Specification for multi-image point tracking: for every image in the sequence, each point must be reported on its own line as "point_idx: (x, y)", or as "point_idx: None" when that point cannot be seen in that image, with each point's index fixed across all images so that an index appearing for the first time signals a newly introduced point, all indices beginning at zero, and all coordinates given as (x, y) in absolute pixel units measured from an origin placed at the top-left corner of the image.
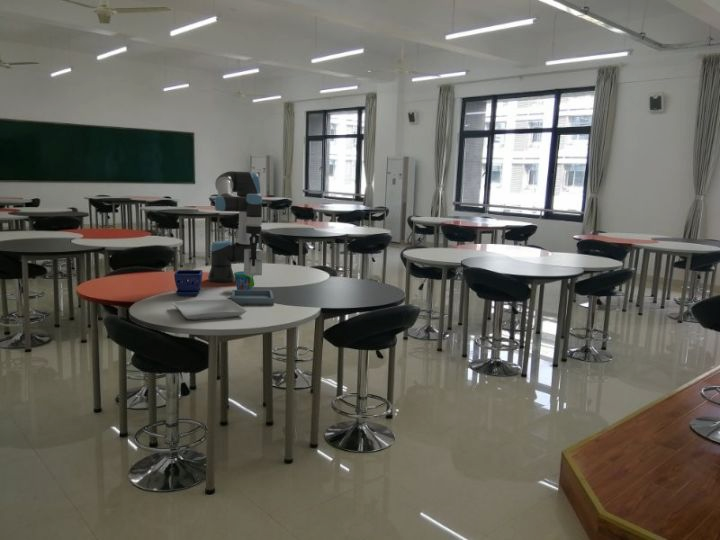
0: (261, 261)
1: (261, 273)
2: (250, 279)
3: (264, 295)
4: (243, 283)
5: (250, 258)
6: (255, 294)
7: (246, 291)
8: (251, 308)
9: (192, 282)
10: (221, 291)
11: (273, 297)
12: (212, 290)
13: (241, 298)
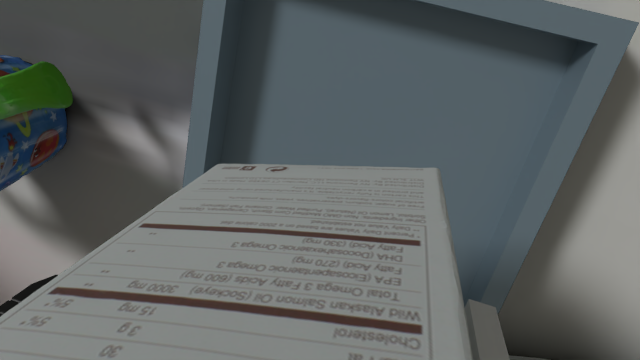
0: (466, 336)
1: (440, 184)
2: (16, 113)
3: (254, 12)
4: (22, 151)
5: None
6: (229, 89)
7: (207, 167)
8: (629, 237)
9: None
10: (45, 253)
11: (592, 14)
12: (20, 290)
13: (503, 301)
